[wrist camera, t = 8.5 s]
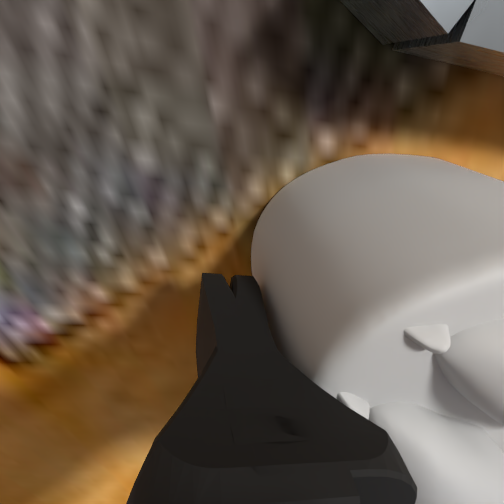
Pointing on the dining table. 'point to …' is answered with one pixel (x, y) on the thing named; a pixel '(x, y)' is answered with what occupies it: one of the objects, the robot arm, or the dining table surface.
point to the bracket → (439, 29)
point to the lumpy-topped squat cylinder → (397, 307)
